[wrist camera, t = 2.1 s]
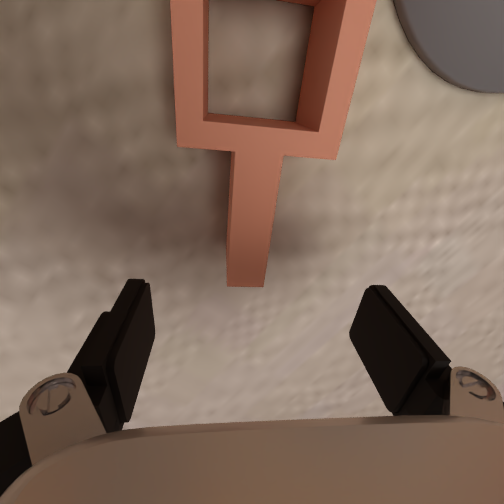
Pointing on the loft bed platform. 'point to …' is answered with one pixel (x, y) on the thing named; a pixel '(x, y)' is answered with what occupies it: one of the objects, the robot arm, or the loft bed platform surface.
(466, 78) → the post base
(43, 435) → the robot arm
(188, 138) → the orange square loop
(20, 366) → the loft bed platform surface
